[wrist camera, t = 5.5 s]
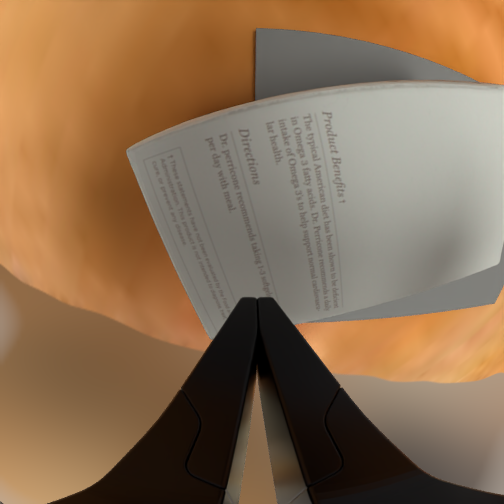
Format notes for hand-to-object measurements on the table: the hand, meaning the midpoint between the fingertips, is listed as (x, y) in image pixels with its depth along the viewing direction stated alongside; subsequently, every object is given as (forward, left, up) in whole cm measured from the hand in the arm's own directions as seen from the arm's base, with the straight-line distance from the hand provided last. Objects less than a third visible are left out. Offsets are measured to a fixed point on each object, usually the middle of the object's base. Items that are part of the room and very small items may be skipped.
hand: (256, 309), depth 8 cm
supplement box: (+3, -1, -5) cm, 6 cm away
